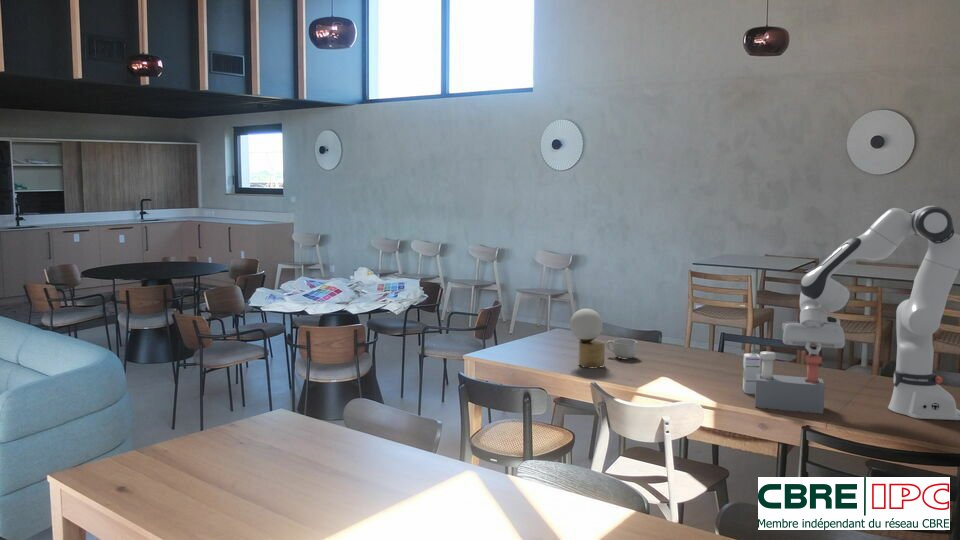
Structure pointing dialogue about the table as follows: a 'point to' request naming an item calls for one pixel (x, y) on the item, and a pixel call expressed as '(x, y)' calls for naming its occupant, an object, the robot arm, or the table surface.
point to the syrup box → (750, 372)
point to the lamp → (588, 337)
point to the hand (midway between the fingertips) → (813, 355)
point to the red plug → (812, 368)
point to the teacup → (623, 347)
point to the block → (789, 394)
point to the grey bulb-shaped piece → (767, 364)
